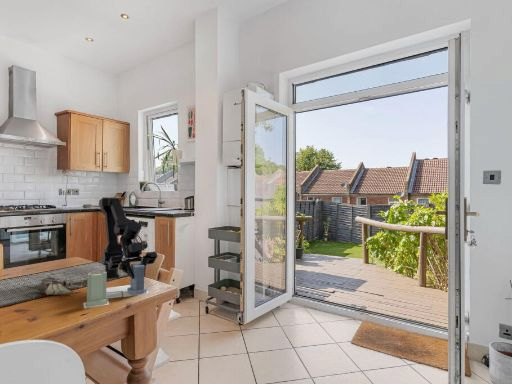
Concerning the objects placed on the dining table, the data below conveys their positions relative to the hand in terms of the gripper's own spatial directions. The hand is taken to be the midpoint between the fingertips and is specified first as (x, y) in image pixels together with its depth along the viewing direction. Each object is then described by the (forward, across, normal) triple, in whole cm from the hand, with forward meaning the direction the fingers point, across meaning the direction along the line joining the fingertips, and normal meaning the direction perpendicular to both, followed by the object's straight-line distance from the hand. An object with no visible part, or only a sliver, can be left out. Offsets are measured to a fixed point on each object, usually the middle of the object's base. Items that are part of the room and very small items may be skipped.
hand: (138, 277), depth 119 cm
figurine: (-10, -24, +20) cm, 33 cm away
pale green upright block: (+6, -16, +3) cm, 17 cm away
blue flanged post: (+3, 0, +5) cm, 6 cm away
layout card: (+2, -7, +7) cm, 10 cm away
